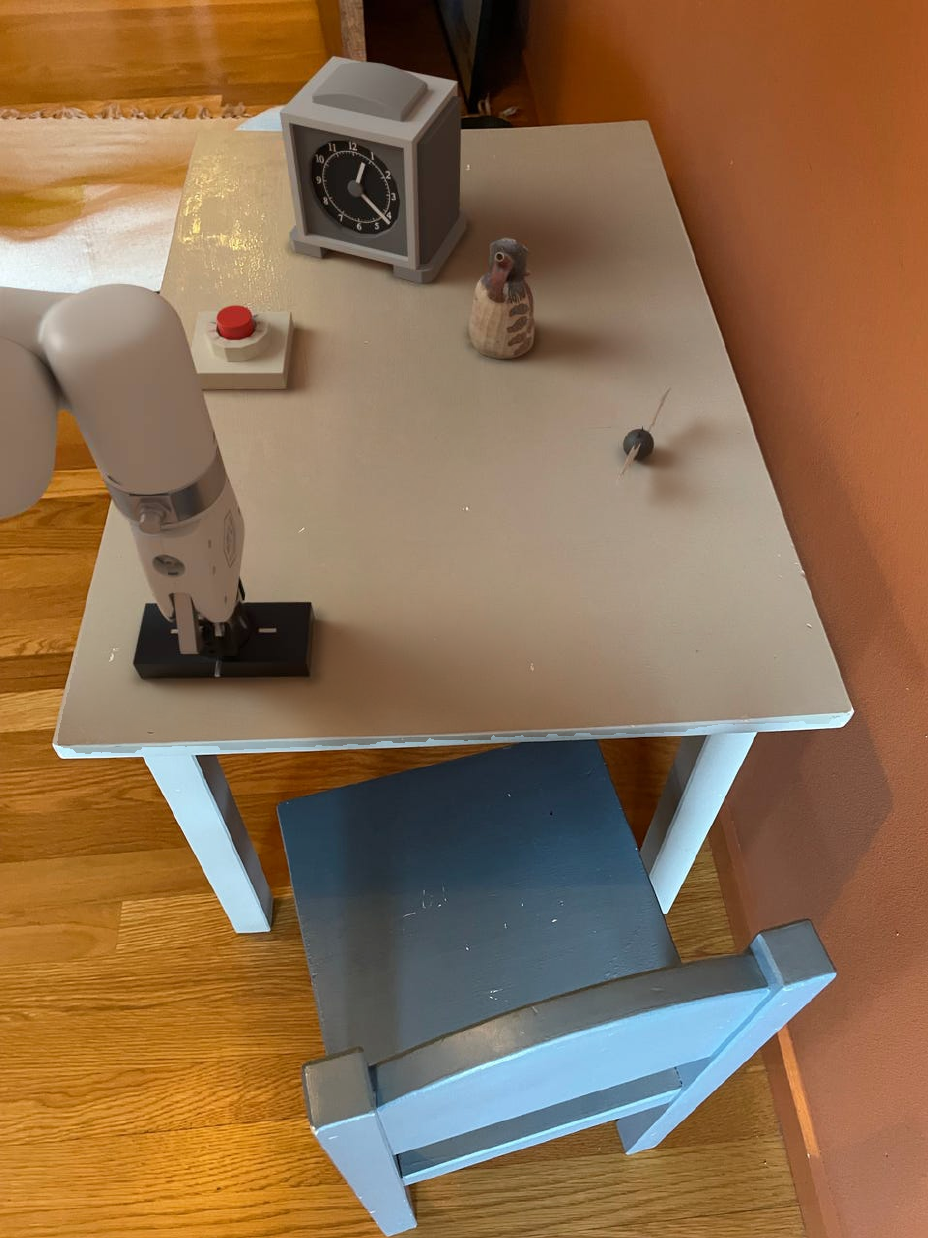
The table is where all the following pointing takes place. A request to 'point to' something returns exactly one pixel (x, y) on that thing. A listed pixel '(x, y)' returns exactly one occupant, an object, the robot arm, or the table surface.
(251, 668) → the panel
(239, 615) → the knob
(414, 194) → the alarm clock
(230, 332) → the power button
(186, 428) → the robot arm
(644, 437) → the bat toy
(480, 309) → the figurine
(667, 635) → the table surface
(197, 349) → the switch box
